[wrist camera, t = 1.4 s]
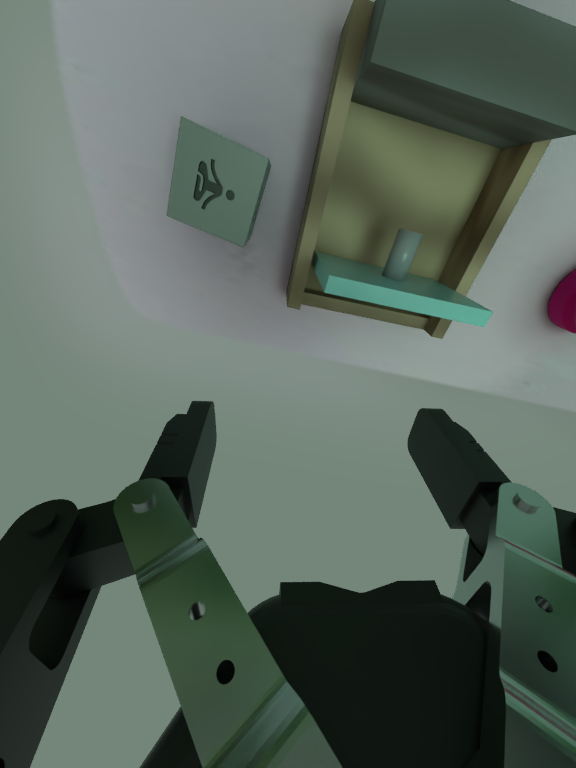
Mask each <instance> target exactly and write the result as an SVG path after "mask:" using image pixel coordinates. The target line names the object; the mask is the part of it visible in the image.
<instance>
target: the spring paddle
mask: <svg viewBox="0 0 576 768" xmlns="http://www.w3.org/2000/svg"><path fill="white" fill-rule="evenodd" d="M422 237H423V234H420V233H416V232H412V231H409V230H405V229H401V228H399V230H398V233H397V235H396V238H395V241H394V243H393V246H392V249H391V251H390V254H389V256H388V259H387V262H386V264H385V267H384V268H383V267H379V266H375V265H371V264H366V263H362V262H358V261H354V260H349V259H345V258H341V257H336V256H332V255H328V254H324V253H319V252H314V257H313V261H312V266H313V269H314V271H315V273H316V275H317V278H318V280H319V282H320V284H321V286H322V289H323V291H324V293H329V294H333V295H338V296H343V297H347V298H352V299H356V300H361V301H366V302H370V303H375V304H380V305H384V306H389V307H394V308H398V309H403V310H408V311H412V312H417V313H421V314H426V315H431V316H435V317H440V318H445V319H449V320H454V321H459V322H463V323H468V324H472V325H477V326H482V327H484V326H485V325H486V323H487V321H488V320H489V318H490V316H491V315H492V313H493V312H492V311H490V310H489V309H487V308H485V307H483V306H481V305H480V304H478V303H476V302H474V301H473V300H471V299H469V298H467V297H465V296H464V295H462V294H460V293H458V292H456V291H455V290H453V289H451V288H449V287H447V286H446V285H444V284H442V283H440V282H438V281H437V280H434V279H430V278H426V277H422V276H417V275H413V274H409V273H408V270H409V268H410V265H411V263H412V261H413V258H414V256H415V254H416V251H417V249H418V246H419V244H420V242H421V239H422Z"/></svg>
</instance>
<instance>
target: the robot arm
mask: <svg viewBox="0 0 576 768" xmlns="http://www.w3.org/2000/svg"><path fill="white" fill-rule="evenodd" d="M214 411H215V410H214V403H213V402H212V401H192V403H191V405H190V407H189V410H188V412H187V414H177V415H175V416H174V417H173V418H172V419H171V420H170V421H168V422H167V424H166V426H165V428H164V430H163V432H162V435H161V436H160V438H159V440H158V442H157V445H156V446H155V448H154V450H153V452H152V454H151V456H150V458H149V460H148V462H147V465H146V466H145V469H144V471H143V473H142V475H141V477H140V479H139V480H138V481H137V482H134V483H132V484H131V485H129V486H127V487H126V488H125V489H124V490H122V491H121V493H120V494H119V495H118V497H117V498H116V499H114V500H112V501H109V502H106V503H102V504H98V505H94V506H90V507H86V508H82V509H79V510H78V509H77V507H76V505H75V504H74V503H72V502H71V501H69V500H64V499H58V500H51V501H47V502H44V503H42V504H39V505H37V506H35V507H33V508H31V509H30V510H28V511H27V512H25V513H24V514H23V515H21V516H20V517H19V518H18V519H17V520H16V521H15V522H14V523H13V524H12V526H11V527H10V528H9V530H8V531H7V533H6V534H5V535H4V536H3V538H2V539H1V540H0V768H30V765H31V763H32V760H33V758H34V755H35V753H36V750H37V748H38V745H39V743H40V740H41V737H42V735H43V733H44V730H45V728H46V725H47V722H48V720H49V717H50V715H51V712H52V710H53V707H54V705H55V702H56V700H57V697H58V695H59V692H60V690H61V687H62V685H63V682H64V679H65V677H66V674H67V672H68V669H69V667H70V664H71V662H72V659H73V657H74V654H75V652H76V649H77V647H78V644H79V642H80V639H81V636H82V634H83V631H84V629H85V626H86V624H87V621H88V619H89V616H90V614H91V611H92V608H93V606H94V604H95V601H96V599H97V596H98V593H99V591H100V588H101V586H102V585H105V584H108V583H111V582H114V581H117V580H120V579H123V578H126V577H129V576H131V575H134V574H136V577H137V582H138V585H139V588H140V591H141V594H142V597H143V600H144V602H145V605H146V608H147V611H148V614H149V617H150V619H151V622H152V625H153V628H154V631H155V634H156V637H157V639H158V642H159V645H160V648H161V650H162V654H163V657H164V659H165V662H166V665H167V668H168V671H169V673H170V676H171V679H172V682H173V685H174V688H175V690H176V694H177V696H178V699H179V702H180V705H181V707H180V709H179V710H178V712H177V713H176V714H175V716H174V718H173V719H172V721H171V722H170V723H169V725H168V726H167V728H166V729H165V731H164V732H163V734H162V735H161V737H160V738H159V740H158V741H157V743H156V744H155V746H154V747H153V749H152V750H151V752H150V753H149V754H148V756H147V757H146V759H145V760H144V762H143V763H142V765H141V767H140V768H576V513H573V512H569V511H566V510H562V509H558V508H554V507H552V506H551V504H550V503H549V502H548V501H547V500H546V499H545V498H544V497H543V496H541V495H540V494H539V493H537V492H536V491H534V490H532V489H531V488H528V487H526V486H524V485H521V484H518V483H512V482H511V481H510V480H509V479H508V478H507V477H506V475H505V474H504V473H503V472H502V471H501V469H500V468H499V467H498V466H497V465H496V463H495V462H494V461H493V460H492V459H491V458H490V457H489V455H488V454H487V453H486V452H484V450H483V448H482V447H481V446H480V445H479V443H476V440H475V439H474V438H473V436H472V435H471V434H470V433H469V432H468V431H467V430H466V429H464V428H463V427H462V426H460V425H459V424H457V423H456V422H453V421H452V420H451V419H450V417H449V416H448V415H447V414H446V412H445V411H444V410H443V409H429V408H422V409H420V410H419V411H418V413H417V416H416V418H415V421H414V424H413V426H412V429H411V432H410V434H409V437H408V450H409V453H410V455H411V457H412V459H413V460H414V462H415V464H416V466H417V468H418V470H419V472H420V473H421V475H422V477H423V479H424V481H425V483H426V484H427V486H428V488H429V490H430V492H431V494H432V495H433V497H434V499H435V501H436V503H437V505H438V507H439V508H440V510H441V512H442V514H443V516H444V518H445V520H446V522H447V523H448V525H449V527H450V528H451V529H466V531H467V533H468V535H467V536H466V538H465V540H464V546H463V551H462V557H461V563H460V569H459V575H458V581H457V586H456V590H455V593H454V595H453V597H452V599H451V598H449V597H446V596H444V595H441V594H440V592H439V590H438V587H437V585H436V583H435V581H434V580H432V581H396V582H394V583H390V584H388V585H385V586H382V587H379V588H376V589H373V590H371V591H368V592H365V593H358V592H354V591H350V590H347V589H343V588H339V587H336V586H332V585H329V584H325V583H322V582H281V583H280V592H279V595H277V596H274V597H271V598H269V599H267V600H265V601H263V602H261V603H260V604H258V605H257V606H255V607H254V608H253V609H251V610H250V611H249V612H248V613H247V612H246V610H245V609H244V607H243V605H242V603H241V602H240V600H239V598H238V596H237V595H236V593H235V591H234V590H233V588H232V586H231V584H230V583H229V581H228V579H227V577H226V576H225V574H224V572H223V571H222V569H221V567H220V565H219V564H218V562H217V560H216V558H215V557H214V555H213V553H212V552H211V550H210V548H209V547H208V545H207V543H206V542H205V541H204V540H203V539H202V538H200V539H199V538H198V537H197V536H196V534H195V532H194V530H193V529H192V528H196V527H197V522H198V518H199V514H200V510H201V506H202V501H203V498H204V493H205V489H206V485H207V481H208V477H209V473H210V468H211V464H212V460H213V456H214V452H215V447H216V423H215V412H214Z"/></svg>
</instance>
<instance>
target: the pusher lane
mask: <svg viewBox="0 0 576 768" xmlns="http://www.w3.org/2000/svg"><path fill="white" fill-rule="evenodd" d="M575 134H576V27H575V26H573V25H570V24H568V23H565V22H563V21H560V20H558V19H555V18H552V17H550V16H547V15H545V14H542V13H540V12H537V11H535V10H532V9H530V8H527V7H525V6H522V5H520V4H517V3H515V2H512V1H510V0H376V1H375V3H374V2H371V1H369V0H354V1H353V4H352V6H351V9H350V11H349V14H348V16H347V19H346V22H345V24H344V27H343V29H342V34H341V38H340V43H339V48H338V53H337V57H336V62H335V67H334V71H333V76H332V81H331V86H330V90H329V95H328V100H327V104H326V109H325V114H324V118H323V123H322V128H321V133H320V137H319V142H318V147H317V151H316V156H315V161H314V166H313V170H312V175H311V180H310V184H309V189H308V194H307V199H306V203H305V208H304V213H303V217H302V222H301V227H300V232H299V236H298V241H297V246H296V250H295V255H294V260H293V264H292V269H291V274H290V279H289V283H288V288H287V293H286V297H287V307H290V308H295V309H299V310H300V306H301V304H303V305H308V306H313V307H318V308H323V309H327V310H332V311H337V312H342V313H347V314H352V315H356V316H361V317H366V318H371V319H376V320H380V321H385V322H390V323H395V324H400V325H405V326H409V327H414V328H419V329H424V330H425V331H426V332H427V333H428V334H429V335H430V336H431V337H436V338H441V339H442V338H443V336H444V335H445V333H446V331H447V329H448V327H449V325H450V324H451V322H452V320H449V319H445V318H440V317H435V316H431V315H426V314H421V313H417V312H412V311H408V310H403V309H398V308H394V307H389V306H384V305H380V304H375V303H370V302H366V301H361V300H356V299H352V298H347V297H343V296H338V295H333V294H329V293H324V291H323V289H322V286H321V284H320V282H319V280H318V278H317V275H316V273H315V271H314V269H313V266H312V261H313V257H314V252H319V253H324V254H328V255H332V256H336V257H341V258H345V259H349V260H354V261H358V262H362V263H366V264H371V265H375V266H379V267H383V268H384V267H385V264H386V262H387V259H388V256H389V254H390V251H391V249H392V246H393V243H394V241H395V238H396V235H397V233H398V230H399V228H401V229H405V230H409V231H412V232H416V233H420V234H423V237H422V239H421V242H420V244H419V246H418V249H417V251H416V254H415V256H414V258H413V261H412V263H411V265H410V268H409V270H408V273H409V274H413V275H417V276H422V277H426V278H430V279H434V280H437V281H438V282H440V283H442V284H444V285H446V286H447V287H449V288H451V289H453V290H455V291H456V292H458V293H460V294H462V295H464V296H466V295H467V293H468V291H469V289H470V287H471V285H472V284H473V282H474V280H475V278H476V276H477V275H478V273H479V271H480V269H481V267H482V265H483V264H484V262H485V260H486V258H487V256H488V254H489V253H490V251H491V249H492V247H493V245H494V244H495V242H496V240H497V238H498V236H499V234H500V233H501V231H502V229H503V227H504V225H505V224H506V222H507V220H508V218H509V216H510V214H511V213H512V211H513V209H514V207H515V205H516V203H517V202H518V200H519V198H520V196H521V194H522V193H523V191H524V189H525V187H526V185H527V183H528V182H529V180H530V178H531V176H532V174H533V173H534V171H535V169H536V167H537V165H538V163H539V162H540V160H541V158H542V156H543V154H544V153H545V151H546V149H547V147H548V145H549V143H550V142H551V140H552V139H555V138H560V137H565V136H570V135H575Z"/></svg>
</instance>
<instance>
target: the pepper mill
mask: <svg viewBox="0 0 576 768" xmlns="http://www.w3.org/2000/svg"><path fill="white" fill-rule="evenodd" d="M548 313H549V317H550V320H551V321H552V322H553V323H554V324H555V325H557V326H559V327H561V328H563V329H566V330H568V331H570V332H572V333H576V270H574V271H573V272H571V273H570V274H569V275H568V276H567V277H566V278H565V279H564V280H563V281H562V282H561V283H560V284H559V285H558V287H557V288H556V289H555V291H554V292H553V295H552V297H551V299H550V301H549V306H548Z"/></svg>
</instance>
